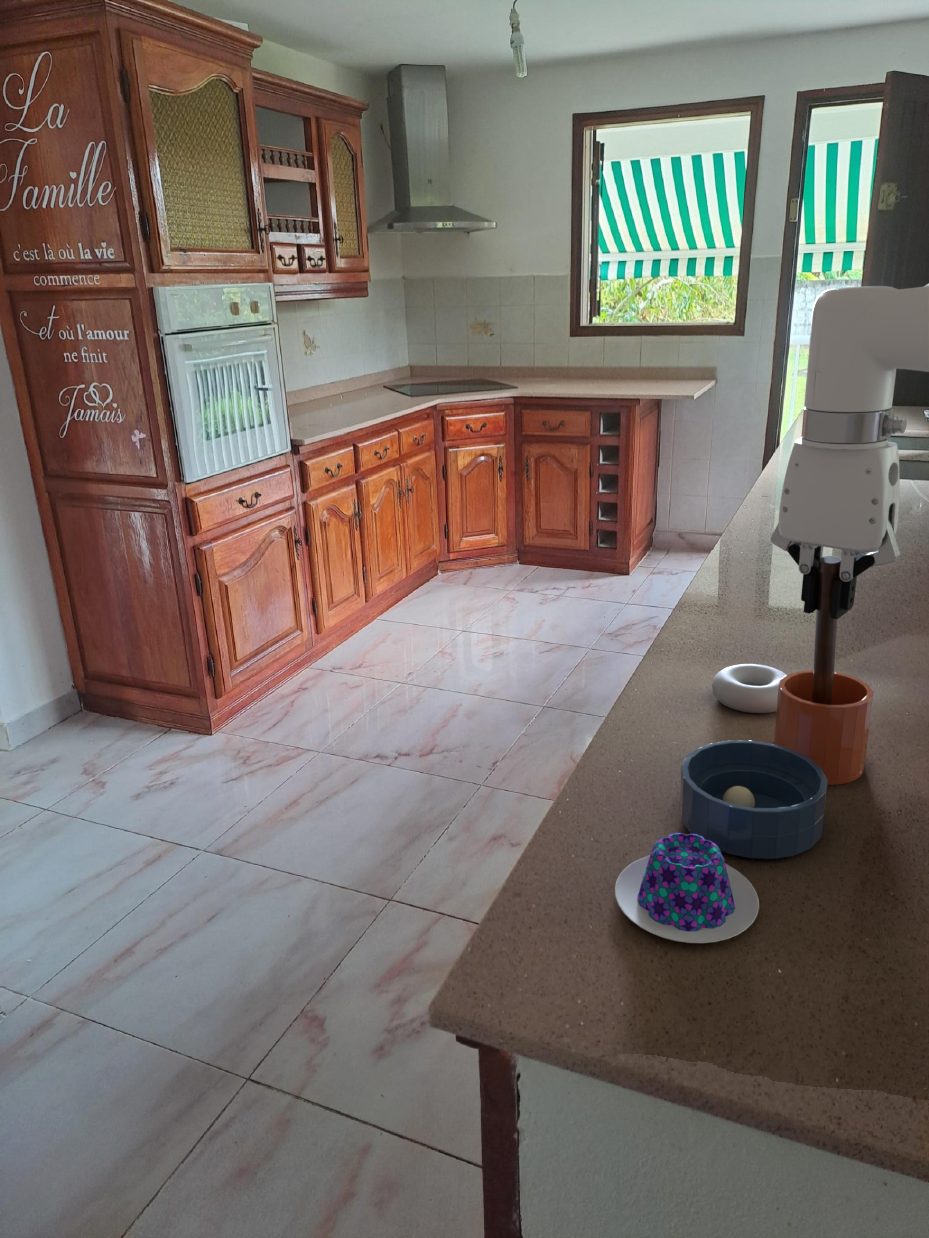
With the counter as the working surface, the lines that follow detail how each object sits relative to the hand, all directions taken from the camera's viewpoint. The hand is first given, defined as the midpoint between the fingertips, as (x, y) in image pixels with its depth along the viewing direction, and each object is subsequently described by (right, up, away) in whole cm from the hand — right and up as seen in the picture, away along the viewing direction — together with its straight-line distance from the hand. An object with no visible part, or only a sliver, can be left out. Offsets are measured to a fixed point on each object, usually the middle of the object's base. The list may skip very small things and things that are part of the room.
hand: (826, 610), depth 88 cm
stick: (+2, -11, +5) cm, 13 cm away
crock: (+2, -17, +7) cm, 18 cm away
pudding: (-17, -25, -13) cm, 33 cm away
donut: (0, -11, +22) cm, 25 cm away
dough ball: (-10, -19, -3) cm, 21 cm away
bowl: (-9, -21, -2) cm, 23 cm away
